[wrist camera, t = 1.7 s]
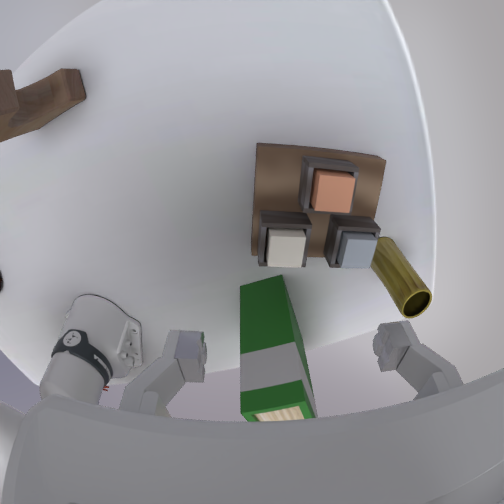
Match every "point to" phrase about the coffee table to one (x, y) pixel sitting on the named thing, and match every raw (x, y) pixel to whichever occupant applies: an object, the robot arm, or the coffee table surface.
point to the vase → (400, 279)
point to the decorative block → (37, 101)
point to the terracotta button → (331, 190)
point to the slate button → (356, 249)
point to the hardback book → (272, 356)
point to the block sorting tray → (298, 197)
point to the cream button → (285, 247)
